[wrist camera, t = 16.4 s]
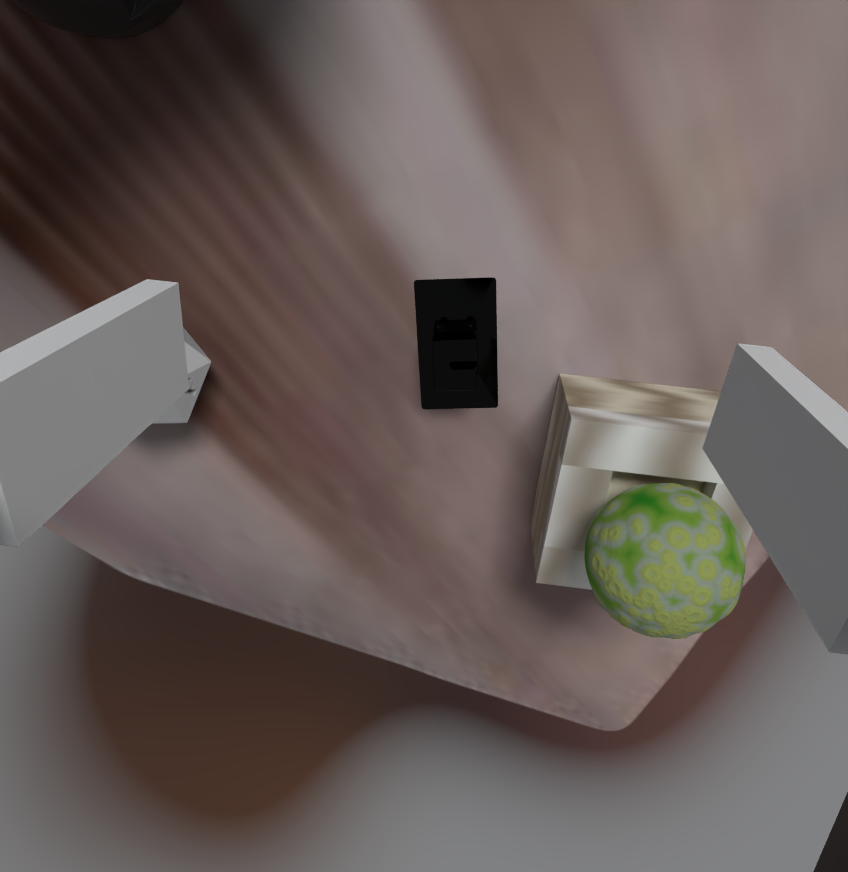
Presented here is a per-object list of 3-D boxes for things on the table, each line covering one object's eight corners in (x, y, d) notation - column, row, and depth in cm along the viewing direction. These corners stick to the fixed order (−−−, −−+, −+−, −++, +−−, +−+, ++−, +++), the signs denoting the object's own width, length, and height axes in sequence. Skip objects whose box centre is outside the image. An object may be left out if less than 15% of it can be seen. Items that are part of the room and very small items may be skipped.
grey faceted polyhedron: (171, 416, 54) (198, 456, 47) (61, 385, 49) (72, 425, 41) (206, 328, 53) (239, 354, 46) (97, 287, 48) (115, 309, 40)
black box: (506, 419, 51) (507, 447, 47) (412, 420, 52) (405, 448, 48) (506, 254, 45) (508, 269, 41) (400, 259, 46) (391, 274, 42)
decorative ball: (556, 480, 45) (560, 594, 37) (700, 431, 40) (739, 549, 33) (610, 565, 49) (623, 682, 41) (744, 530, 45) (787, 653, 37)
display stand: (530, 521, 55) (536, 582, 48) (559, 373, 48) (571, 418, 41) (691, 541, 54) (722, 606, 47) (744, 394, 48) (788, 443, 41)
